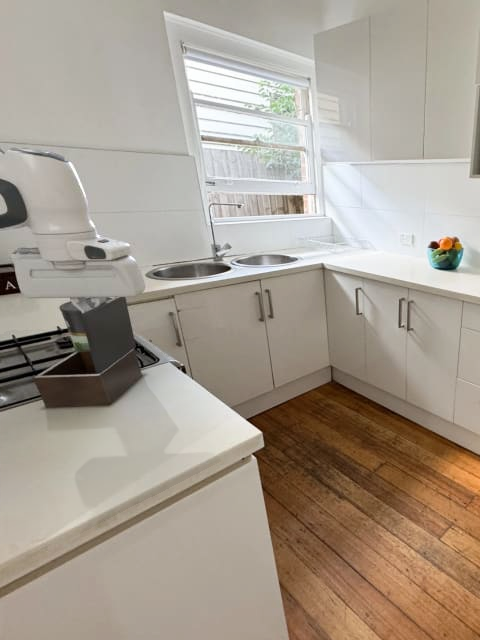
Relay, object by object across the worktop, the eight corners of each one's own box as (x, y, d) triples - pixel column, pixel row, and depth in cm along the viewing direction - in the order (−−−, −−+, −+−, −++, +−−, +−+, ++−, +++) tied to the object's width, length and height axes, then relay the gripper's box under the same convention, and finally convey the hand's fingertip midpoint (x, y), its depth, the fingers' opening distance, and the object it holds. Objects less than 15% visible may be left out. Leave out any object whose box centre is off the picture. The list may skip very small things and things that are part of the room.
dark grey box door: (80, 314, 69) (85, 314, 69) (120, 294, 80) (124, 294, 80) (96, 373, 74) (100, 373, 74) (132, 346, 85) (136, 346, 85)
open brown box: (45, 407, 75) (32, 377, 72) (87, 377, 87) (77, 350, 84) (109, 405, 77) (99, 375, 74) (142, 375, 88) (134, 348, 85)
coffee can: (73, 368, 90) (52, 312, 84) (84, 351, 98) (66, 299, 93) (126, 360, 94) (109, 306, 89) (132, 345, 103) (117, 294, 97)
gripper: (-8, 250, 66) (24, 324, 71) (120, 250, 68) (140, 322, 74) (22, 244, 72) (49, 313, 77) (139, 244, 74) (157, 311, 80)
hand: (95, 317), depth 76 cm, fingers closed
